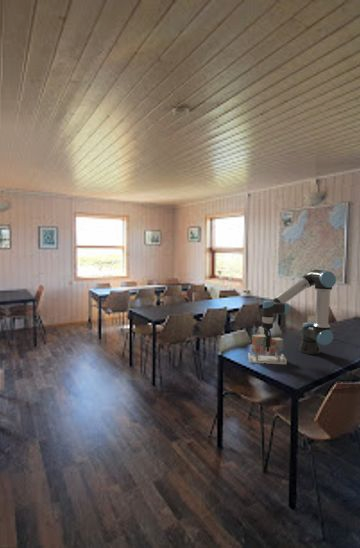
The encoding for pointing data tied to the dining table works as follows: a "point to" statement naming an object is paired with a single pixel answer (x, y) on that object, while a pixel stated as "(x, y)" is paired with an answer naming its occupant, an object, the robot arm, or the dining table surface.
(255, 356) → the rack with pegs
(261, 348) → the stack of blocks
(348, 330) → the dining table surface
